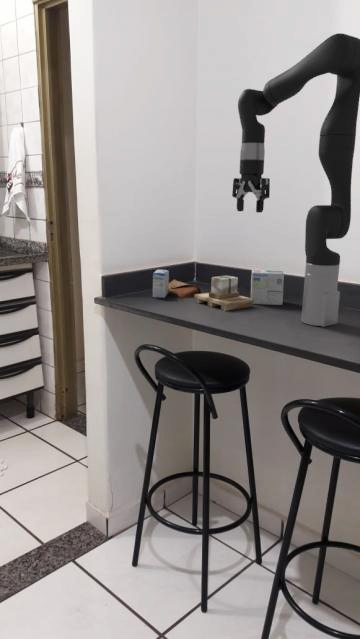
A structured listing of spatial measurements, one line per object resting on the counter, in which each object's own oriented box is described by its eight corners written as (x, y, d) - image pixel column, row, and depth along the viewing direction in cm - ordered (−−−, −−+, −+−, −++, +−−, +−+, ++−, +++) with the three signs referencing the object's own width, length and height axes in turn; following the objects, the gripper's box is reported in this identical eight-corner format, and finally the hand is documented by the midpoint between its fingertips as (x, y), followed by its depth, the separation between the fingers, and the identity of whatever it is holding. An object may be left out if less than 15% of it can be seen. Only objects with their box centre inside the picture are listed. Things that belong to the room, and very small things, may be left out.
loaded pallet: (239, 296, 171) (240, 277, 169) (219, 299, 165) (219, 279, 164) (228, 294, 175) (229, 274, 173) (208, 297, 169) (209, 277, 168)
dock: (253, 306, 168) (253, 299, 167) (226, 311, 161) (226, 303, 160) (220, 297, 180) (221, 290, 180) (194, 301, 173) (194, 294, 173)
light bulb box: (281, 301, 177) (283, 270, 174) (282, 305, 171) (285, 273, 168) (249, 300, 178) (251, 269, 175) (250, 304, 172) (252, 272, 169)
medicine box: (156, 292, 187) (156, 269, 185) (168, 293, 186) (169, 269, 184) (152, 297, 179) (152, 272, 177) (165, 297, 179) (165, 273, 177)
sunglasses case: (155, 289, 193) (163, 273, 193) (169, 297, 197) (177, 281, 197) (181, 298, 178) (190, 281, 179) (195, 306, 182) (204, 289, 183)
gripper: (277, 158, 158) (274, 212, 162) (244, 160, 169) (242, 210, 173) (260, 157, 153) (257, 213, 157) (227, 159, 164) (225, 210, 168)
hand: (249, 211), depth 165 cm, fingers open, 8 cm apart
